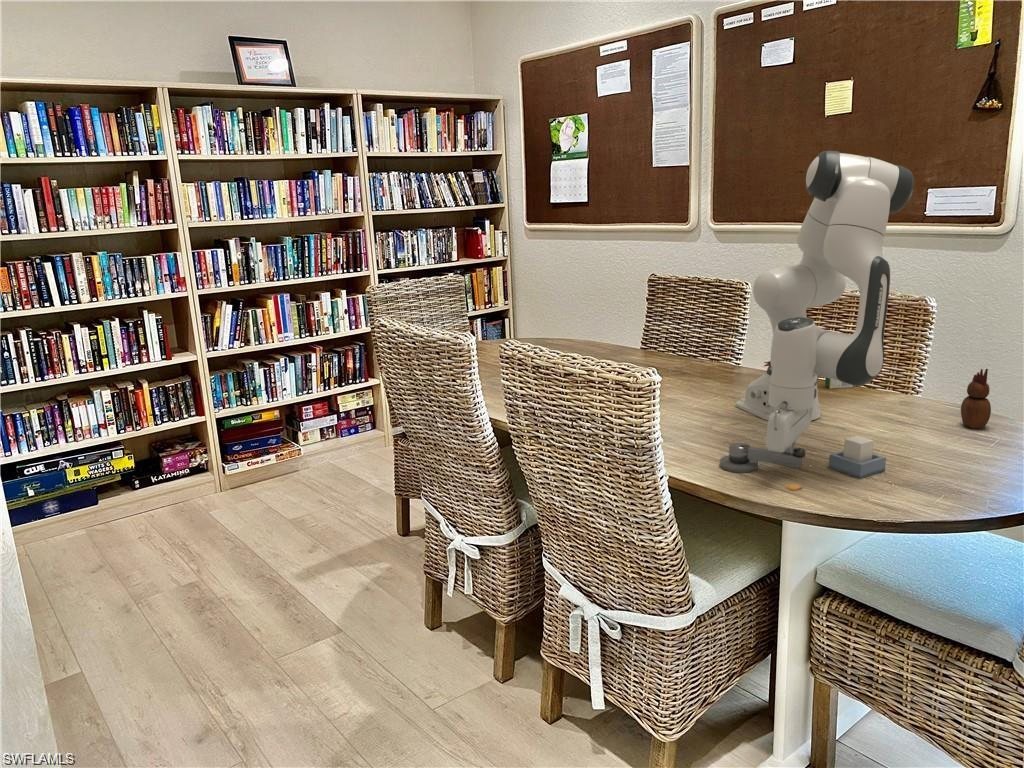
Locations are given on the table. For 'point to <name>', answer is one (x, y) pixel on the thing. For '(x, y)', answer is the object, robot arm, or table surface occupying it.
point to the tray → (857, 465)
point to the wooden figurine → (976, 402)
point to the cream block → (858, 449)
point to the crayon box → (835, 383)
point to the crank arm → (765, 455)
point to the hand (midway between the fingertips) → (787, 459)
